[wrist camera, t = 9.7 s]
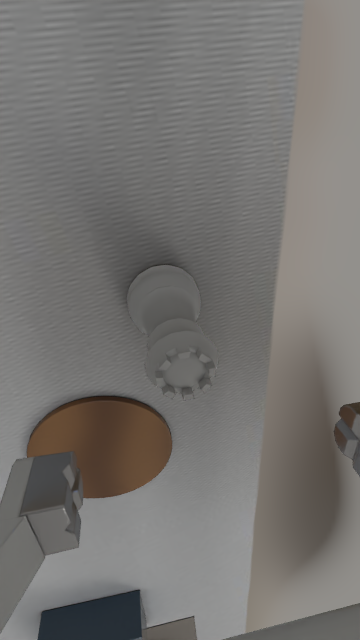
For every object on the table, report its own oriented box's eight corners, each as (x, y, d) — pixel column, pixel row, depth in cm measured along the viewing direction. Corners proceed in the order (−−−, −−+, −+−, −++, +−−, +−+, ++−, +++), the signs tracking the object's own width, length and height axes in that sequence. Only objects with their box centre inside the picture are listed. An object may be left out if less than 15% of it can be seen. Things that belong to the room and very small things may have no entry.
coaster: (167, 385, 24) (168, 390, 23) (174, 480, 29) (175, 485, 28) (9, 408, 22) (7, 413, 22) (47, 503, 27) (46, 508, 27)
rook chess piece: (193, 327, 21) (229, 415, 15) (125, 327, 21) (129, 420, 14) (201, 263, 19) (248, 330, 13) (127, 260, 19) (133, 329, 12)
